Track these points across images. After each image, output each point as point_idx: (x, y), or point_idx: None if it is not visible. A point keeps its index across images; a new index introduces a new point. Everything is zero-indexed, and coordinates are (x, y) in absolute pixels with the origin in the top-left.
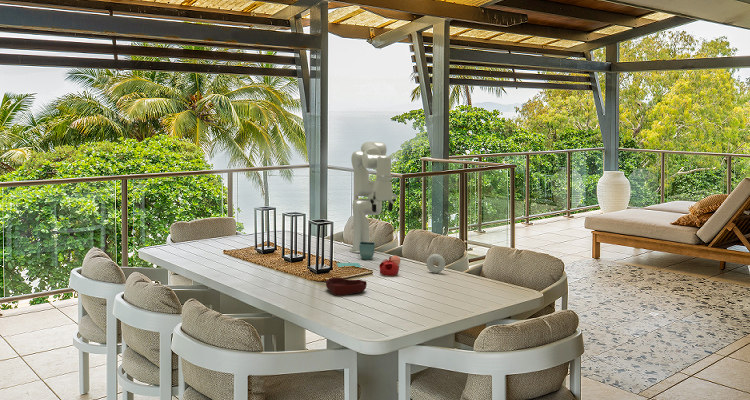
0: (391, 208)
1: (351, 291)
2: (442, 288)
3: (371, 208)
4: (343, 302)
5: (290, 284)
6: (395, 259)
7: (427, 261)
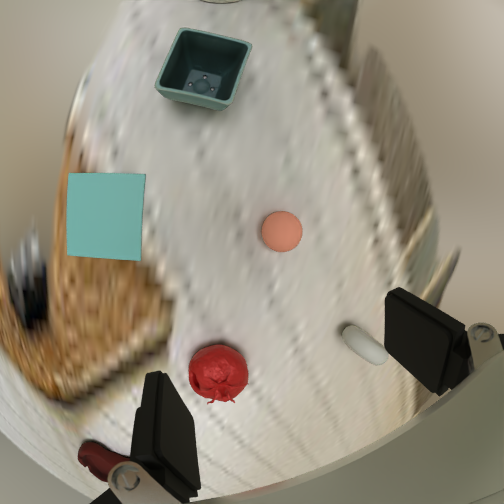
0: (407, 366)
1: None
2: (295, 444)
3: None
4: None
5: (17, 405)
6: (279, 250)
7: (349, 346)
